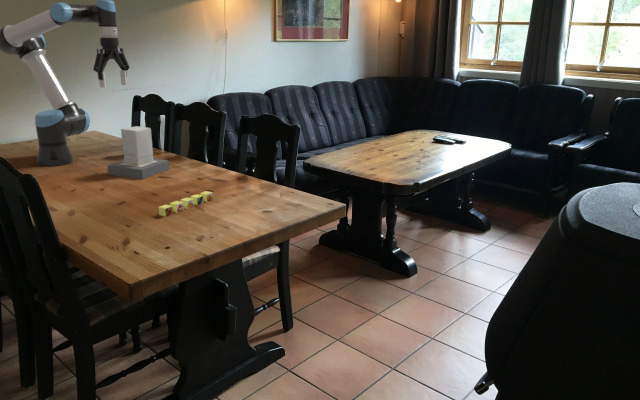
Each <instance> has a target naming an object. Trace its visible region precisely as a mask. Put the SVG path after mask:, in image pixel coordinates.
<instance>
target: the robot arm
mask: <svg viewBox="0 0 640 400" xmlns="http://www.w3.org/2000/svg"><path fill="white" fill-rule="evenodd" d="M116 12H117V10H116V5H115V1H114V0H96V1H95V4H85V3H84V4H82V3H69V2H68V3H67V2H61V1H60V2H55V3H52V4H51V6H50V8H49V9H47V10H45V11H43V12H40V13H39V14H36V15H34V16H31V17H29V18H27V19H24V20H23V21H21V22H19V23H16V24H13V25H12V24H8V25H7V24H6V25H5V26H3V27H1V28H0V52H2V53H4V54H6V55H11V56H12V55H13V56H14V55H17V56H18V57H19V59H20V61H21V62H22V63H25V64H26V65H27V66H28V68H29V69H30V71H31V72H32V75H33V76H34V78H35V79H36V82H37V83H38V85H39V86H40V88H41V90H42V91H43V94H44V95H45V97H46V99H47V100H48V102H49V103H50V105H51V107H52V109H49V110H42V111H41V112H40V111H39V112H38V113H36V114H35V116H34V119H35V120H34V121H35V122H34V124H35V130H36V136H37V141H38V142H37V143H38V151H37V157H36V164H37V165H39V166H42V167H43V166H44V167H45V166H46V167H53V166H55V167H56V166H63V165H68V164H71V163H73V162H74V157H73V154H72V152H71V151H70V148H69V146H68V142H67V141H68V140H67V137H71V136H75V135H76V136H79V135H81V134H83V133H85V132H87V131H88V129H89V128H90V123H91V119H90V115H89V113H88V112H87V111H86V110H85V109H83V108H79V106H78V104H77V102H75V101H72V100H71V99H70V97H69V95H68V94H67V92H66V91H65V88H64V87H63V85H62V83H61V82H60V80H59V78H58V77H57V73H55V72H54V69H53V68H52V66H51V64H50V62H49V61H48V59H47V57H46V54H47V50H46V49H47V45H46V38H45V37H44V35H43V34H45V33H48V32H50V31H52V30H54V29H57V28H59V27H62V26H64V25H66V24H69V23H81V24H87V23H88V24H89V23H91V24H92V23H93V24H95V23H96V24H98V32H99V37H100V38H99V40H100V41H99V42H100V46H101V48H96V56H95V61H94V65H93V72H96V73H97V78H98V81H99V88H104V89H106V88H107V84H106V73H105V72H104V70H105V68H106V66H107V64H108V62H109V61H110V60H114V61H115V63H116V64H117V66H118V67H119V68H120V70H119V75H120V85H122V86H127V85H128V80H127V78H128V77H127V74H128V73H127V71H129V69H130V65H129V62H128V60H127V58H126V55H125V53H124V52H125V51H124V48H122V47H121V48H119V45H120V44H119V43H120V42H119V38H118V36H119V35H118V26H117V25H118V24H117V13H116Z"/></svg>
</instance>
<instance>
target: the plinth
mask: <svg viewBox="0 0 640 400" xmlns="http://www.w3.org/2000/svg"><path fill="white" fill-rule="evenodd" d="M169 170H170V164H169V160H166V159H158V158H153V162H149V163H145V164H141V165H134V164H128V163H124V159H123V160H121V161H117V162H114V163H111V164H107V174H108V175H111V176H116V177H117V176H118V177H125V178H133V179H138V180H144V179H147V178H149V177H153V176H155V175H158V174H161V173H163V172H166V171H169Z"/></svg>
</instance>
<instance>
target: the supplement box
mask: <svg viewBox="0 0 640 400" xmlns="http://www.w3.org/2000/svg"><path fill="white" fill-rule="evenodd" d="M120 131H121V139H122V140H121V142H122V150H123V160H124V163H128V164H134V165H141V164H145V163H149V162H153V159H154V152H153V139H152V129H151V127H147V126H146V127H144V126H138V125H136V126H130V127H124V128H120Z"/></svg>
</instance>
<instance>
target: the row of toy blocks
mask: <svg viewBox="0 0 640 400" xmlns="http://www.w3.org/2000/svg"><path fill="white" fill-rule="evenodd" d="M213 200H214V194H213V192H212V191H207V190H204V191H202V192H200V193H199V194H197V193H196V194H193V195H190V196H189V197H184V198H181V199H180V200H175V201H172V202H170V203H169V204H163V205H160V206H158V215H159V216H162V217H165V218H167V217H169V216H173V215H174V213H176V214H178V213H181V212H183V211H185V209H186V210H188V209H192V208H194V207H195V206H200V205H203V204H204V202H205V203H208V202H211V201H213Z"/></svg>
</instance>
